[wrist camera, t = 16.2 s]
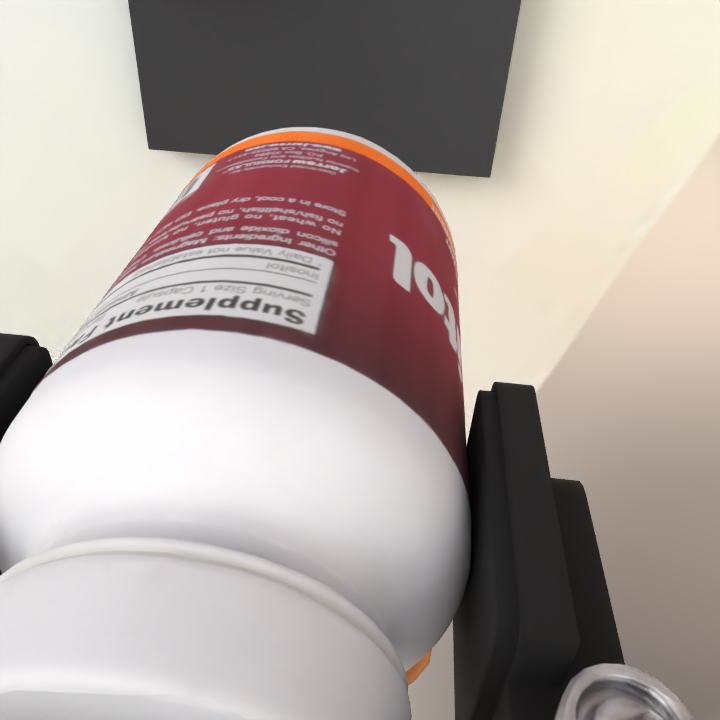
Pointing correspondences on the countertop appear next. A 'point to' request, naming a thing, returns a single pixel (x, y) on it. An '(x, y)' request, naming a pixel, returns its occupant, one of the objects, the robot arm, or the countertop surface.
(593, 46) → the countertop surface
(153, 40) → the scale
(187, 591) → the pill bottle
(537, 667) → the robot arm
